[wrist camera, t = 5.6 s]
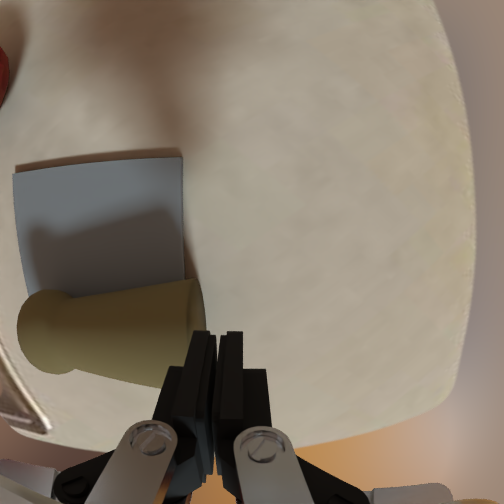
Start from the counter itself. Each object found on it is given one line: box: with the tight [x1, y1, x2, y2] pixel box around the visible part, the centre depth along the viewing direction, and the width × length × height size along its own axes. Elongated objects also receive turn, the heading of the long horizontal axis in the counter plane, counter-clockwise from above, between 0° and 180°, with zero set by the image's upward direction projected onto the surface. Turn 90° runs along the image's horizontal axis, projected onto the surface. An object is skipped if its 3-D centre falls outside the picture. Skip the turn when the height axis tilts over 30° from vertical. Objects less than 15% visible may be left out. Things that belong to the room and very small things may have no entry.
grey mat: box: [12, 157, 185, 298], centre depth 17 cm, size 14×12×1 cm
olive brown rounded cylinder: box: [17, 278, 207, 389], centre depth 15 cm, size 6×6×11 cm
